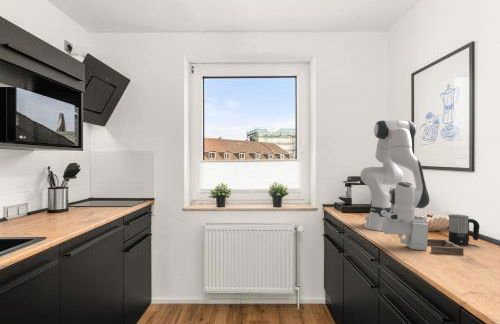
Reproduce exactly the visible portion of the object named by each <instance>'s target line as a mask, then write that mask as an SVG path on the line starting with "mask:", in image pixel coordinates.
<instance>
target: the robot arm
mask: <svg viewBox="0 0 500 324" xmlns="http://www.w3.org/2000/svg"><path fill="white" fill-rule="evenodd" d="M416 133H417V126H416V124H415V123H414V122H413V121H411V120H401V119H400V120H399V119H398V120H397V119H394V120H393V119H392V120H378V121H376V123H375V125H374V129H373V134H374V136H375V137H376V138H377V144H376V150H375V155H374V157H375V158H376V160H377V161H378V162H380V164H382V166H368V167H364V168H363V169H362V170H361V171H360V180H361V181H362V183H364V184H365V185H366V186H367V188H368V189H369V191H370V196H371V205H370V212H369V214H368V215H367V216H365V218H364V219H365V221H366V222H363V226H364V229H365V230H366V229H367V230H372V231H379V232H383V233H384V234H385V235H386V234H388V235H397V237H398V238H399V243H400V244H405V245H406V244H407V240H408V239H409V238H410V235H411V225H412V223H423V224H428V223H427V221H428V220H427V218H426V217H424V216H423V215H415V209H424V208H426V207H427V206H428V205H429V204H430V196H429V192H428V189H427V184H426V180H425V175H424V171H423V168H422V165H421V164H422V163H421V161H420V159H419V158H418V157H416V156H415V154H414V152H413V144H412V139H413V138H414V137H415V136H416ZM398 166H400V167H402V168H406V169H407V170H410V171H411V173H412V174H413V178H414V183H415V184H412V183H411V182H407V181H403V180H404V173H403V170H402V169H401V168H400V167H398ZM383 185H387V186H388V185H389V186H390V185H396V186H395V187H394V188H392V189H391V190H390V191H389V192H388V191H387V190H385V189H384V188H383ZM414 185H415V186H414ZM415 187H416V188H415ZM391 205H393V206H394V210H393V211H392V207H391ZM404 235H405V238H403V236H404Z"/></svg>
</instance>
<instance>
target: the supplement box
mask: <svg viewBox="0 0 500 324" xmlns="http://www.w3.org/2000/svg"><path fill="white" fill-rule="evenodd" d="M428 236H429V224H428V223H426V224H423V223H412V225H411V235H410V238H409V239H408V240H407V244H405V246H407V247H408V248H409V249H411V250H418V251H420V250H421V251H427V250H428V249H427V248H428V245H427V239H429V238H428Z"/></svg>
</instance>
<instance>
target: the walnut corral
mask: <svg viewBox="0 0 500 324" xmlns="http://www.w3.org/2000/svg"><path fill="white" fill-rule="evenodd" d="M427 246H428V247H429V246H430V253H431V254H433V255H436V254H437V255H456V256H457V255H458V256H463V255H464V254H465V251H464V247H461V245H455V244H453V243H451V242H449V241H448V239H440V238H439V239H438V238H435V239H434V238H428V239H427Z"/></svg>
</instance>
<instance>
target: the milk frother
mask: <svg viewBox="0 0 500 324" xmlns="http://www.w3.org/2000/svg"><path fill="white" fill-rule="evenodd" d="M469 217H470V216H468V215H465V214H457V213H456V214H451V213H449V214H448V239H447V241H449V242H451V243H453V244H455V245H457V246H469V245H470V243H469V242H470V224H473V227H472V228H473V229H472V230H473V231H472V239H473V240H474V241H478V240H479V236H480V234H479V233H480V223H479V222H478V221H477V220H476V219H474V218H469Z"/></svg>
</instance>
